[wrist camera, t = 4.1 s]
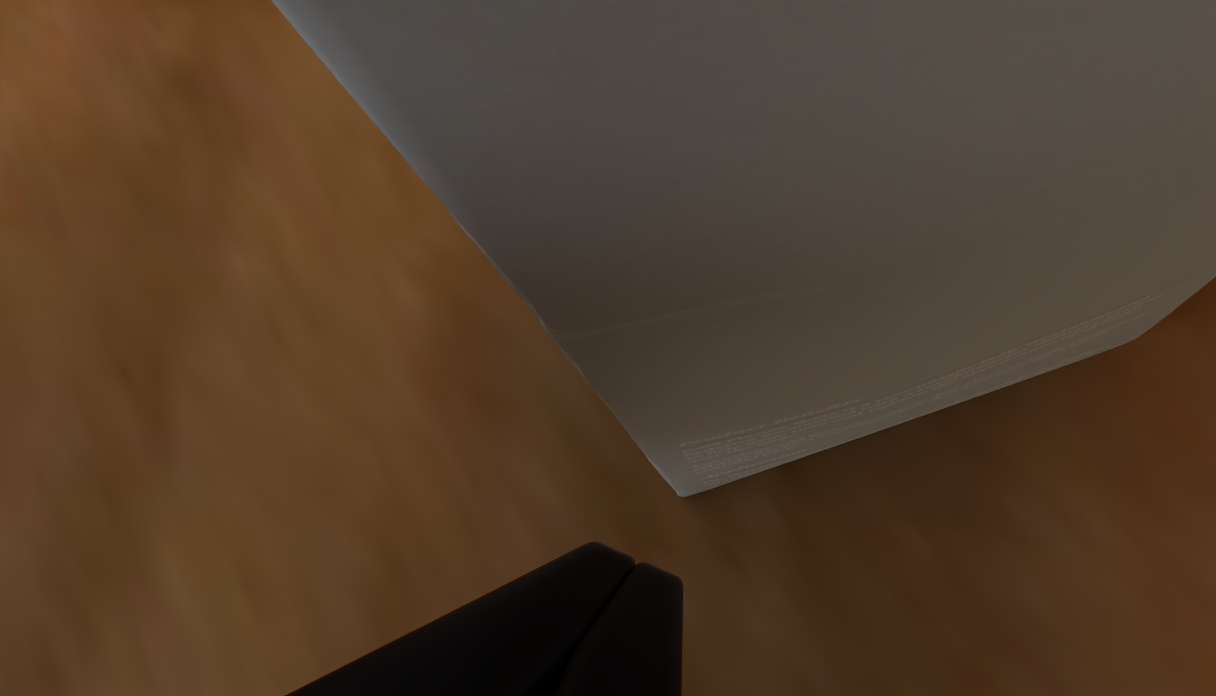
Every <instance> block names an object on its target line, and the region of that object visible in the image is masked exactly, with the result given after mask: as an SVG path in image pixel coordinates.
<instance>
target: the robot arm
mask: <svg viewBox="0 0 1216 696" xmlns="http://www.w3.org/2000/svg"><path fill="white" fill-rule="evenodd" d="M682 630H683V583H682V580H681V579H680V578H679V577H678V576H676V575H674V574H671V573H669V572H667V571H664V570H662V569H660V568H657V567H655V566H653V565H650V564H648V563H645V562H642V563H638V564H637V565H635V561H634V559H633V558H632V557H631V556H630V555H627V554H625V553H623V552H620V551H618V550H616V549H613V548H611V547H609V546H606V545H604V544H602V543H599V542H590V543H587V544H585V545H583V546H581V547H579V548H577V549H575V550H573V551H571V552H569V553H567V554H565V555H563V556H561V557H559V558H557V559H555V560H553V561H551V562H549V563H547V564H545V565H543V566H541V567H539V568H537V569H535V570H533V571H531V572H529V573H527V574H525V575H523V576H521V577H519V578H517V579H515V580H513V581H511V582H509V583H507V584H505V585H503V586H501V587H499V588H498V589H496V590H494V591H492V592H490V593H488V594H486V595H484V596H482V597H480V598H478V599H476V600H474V601H472V602H470V603H468V604H466V605H464V606H462V607H460V608H458V609H456V610H454V611H452V612H450V613H448V614H446V615H444V616H442V617H440V618H438V619H436V620H434V621H432V622H430V623H428V624H426V625H424V626H422V627H420V628H418V629H416V630H414V631H412V632H410V633H408V634H406V635H404V636H402V637H400V638H398V639H396V640H394V641H392V642H390V643H388V644H386V645H385V646H383V647H381V648H379V649H377V650H375V651H373V652H371V653H369V654H367V655H365V656H363V657H361V658H359V659H357V660H355V661H353V662H351V663H349V664H347V665H345V666H343V667H341V668H339V669H337V670H335V671H333V672H331V673H329V674H327V675H325V676H323V677H321V678H319V679H317V680H315V681H313V682H311V683H309V684H307V685H305V686H303V687H301V688H299V689H297V690H295V691H293V692H291V693H289V694H287V695H285V696H681V693H682Z"/></svg>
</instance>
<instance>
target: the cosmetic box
mask: <svg viewBox="0 0 1216 696" xmlns="http://www.w3.org/2000/svg"><path fill="white" fill-rule="evenodd" d="M271 1H272V2H273V3H274V4H275V5H276V7H277V8H278V9H279V10H280V11H281V13H282V14H283V15H284V16H285V17H286V19H287V20H288V21H289V22H290V24H291V25H292V26H293V27H294V28H295V30H296V31H297V32H298V33H299V34H300V36H301V37H302V38H303V39H304V40H305V42H306V43H307V44H308V45H309V46H310V47H311V49H312V50H313V51H314V52H315V53H316V55H317V56H318V57H319V58H320V59H321V60H322V62H323V63H324V64H325V65H326V66H327V68H328V69H329V70H330V71H331V72H332V74H333V75H334V76H335V77H336V78H337V79H338V81H339V82H340V83H341V84H342V85H343V87H344V88H345V89H346V90H347V91H348V92H349V94H350V95H351V96H352V97H353V98H354V100H355V101H356V102H357V103H358V104H359V105H360V107H361V108H362V109H363V110H364V111H365V113H366V114H367V115H368V116H369V117H370V118H371V120H372V121H373V122H374V123H375V124H376V126H377V127H378V128H379V129H380V130H381V132H382V133H383V134H384V135H385V136H386V137H387V139H388V140H389V141H390V142H391V143H392V145H393V146H394V147H395V148H396V149H397V150H398V152H399V153H400V154H401V155H402V156H403V157H404V159H405V160H406V161H407V162H408V163H409V164H410V166H411V167H412V168H413V169H414V170H415V172H416V173H417V174H418V175H419V176H420V177H421V179H422V180H423V181H424V182H425V183H426V184H427V186H428V187H429V188H430V189H431V190H432V192H433V193H434V194H435V195H436V196H437V197H438V199H439V200H440V201H441V202H442V203H443V205H444V206H445V207H446V208H447V210H448V211H449V212H450V213H451V215H452V216H453V217H454V219H455V220H456V221H457V222H458V224H459V225H460V226H461V228H462V229H463V230H464V231H465V233H466V234H467V235H468V236H469V237H470V239H471V240H472V241H473V242H474V243H475V244H476V246H477V247H478V248H479V249H480V250H481V252H482V253H483V254H484V255H485V256H486V257H487V259H488V260H489V261H490V262H491V263H492V265H493V266H494V267H495V268H496V269H497V270H498V272H499V273H500V274H501V275H502V276H503V278H504V279H505V280H506V281H507V282H508V283H509V285H510V286H511V287H512V288H513V289H514V291H515V292H516V293H517V294H518V295H519V296H520V298H521V299H522V300H523V301H524V302H525V303H526V305H527V306H528V307H529V308H530V309H531V310H532V311H533V312H534V314H535V315H536V316H537V317H538V319H539V321H540V323H541V325H542V327H543V329H544V330H545V331H546V332H547V333H548V335H549V336H550V337H551V338H552V339H553V341H554V342H555V343H556V344H557V345H558V347H559V348H560V349H561V350H562V351H563V353H564V354H565V355H566V356H567V358H568V359H569V360H570V361H571V362H572V364H573V365H574V366H575V367H576V369H577V370H578V371H579V372H580V374H581V375H582V376H583V378H584V379H585V380H586V382H587V383H588V384H589V386H590V387H591V388H592V389H593V390H594V391H595V392H596V394H597V395H598V396H599V397H600V398H601V399H602V400H603V402H604V403H605V404H606V405H607V407H608V408H609V409H610V410H611V412H612V413H613V414H614V415H615V417H616V418H617V419H618V420H619V422H620V423H621V424H622V426H623V427H624V428H625V430H626V431H627V432H628V433H629V435H630V436H631V437H632V439H633V440H634V441H635V443H636V444H637V445H638V446H639V448H640V449H641V450H642V451H643V453H644V454H645V455H646V457H647V458H648V459H649V461H650V462H651V463H652V465H653V466H654V467H655V468H656V469H657V471H658V472H659V473H660V474H661V476H662V477H663V478H664V479H665V480H666V481H667V482H668V483H669V484H670V486H671V487H672V488H673V489H674V490H675V491H676V493H677V495H678V496H681V497H686V496H690V495H693V494H696V493H700V492H703V491H706V490H709V489H712V488H715V487H718V486H721V485H724V484H727V483H730V482H733V481H735V480H738V479H741V478H744V477H747V476H750V475H753V474H756V473H759V472H762V471H765V470H767V469H770V468H773V467H776V466H779V465H782V464H785V463H788V462H791V461H794V460H797V459H800V458H803V457H805V456H808V455H811V454H814V453H817V452H820V451H823V450H826V449H829V448H831V447H834V446H837V445H840V444H843V443H846V442H849V441H852V440H855V439H857V438H860V437H863V436H866V435H869V434H872V433H875V432H878V431H880V430H883V429H886V428H889V427H892V426H895V425H898V424H901V423H904V422H906V421H909V420H912V419H915V418H918V417H921V416H924V415H927V414H929V413H932V412H935V411H938V410H941V409H944V408H947V407H949V406H952V405H955V404H958V403H961V402H964V401H967V400H970V399H972V398H975V397H978V396H981V395H984V394H987V393H990V392H993V391H995V390H998V389H1001V388H1004V387H1007V386H1010V385H1012V384H1015V383H1018V382H1021V381H1024V380H1026V379H1029V378H1032V377H1035V376H1038V375H1041V374H1043V373H1046V372H1049V371H1052V370H1055V369H1058V368H1060V367H1063V366H1066V365H1069V364H1072V363H1074V362H1077V361H1080V360H1083V359H1086V358H1089V357H1091V356H1094V355H1097V354H1100V353H1102V352H1105V351H1108V350H1110V349H1113V348H1115V347H1118V346H1121V345H1123V344H1126V343H1128V342H1130V341H1132V340H1134V339H1137V338H1139V337H1140V336H1141V335H1142V334H1143V333H1145V332H1146V331H1147V330H1149V329H1150V328H1152V327H1153V326H1154V325H1156V324H1157V323H1158V322H1160V321H1161V320H1162V319H1163V318H1165V317H1166V316H1167V315H1169V314H1170V313H1171V312H1172V311H1174V310H1175V309H1176V308H1177V307H1178V306H1179V305H1181V304H1182V303H1183V302H1185V301H1186V300H1187V299H1188V298H1190V297H1191V296H1192V295H1194V294H1195V293H1196V292H1197V291H1199V290H1200V289H1201V288H1202V287H1204V286H1205V285H1206V284H1207V283H1209V282H1210V281H1211V280H1212V279H1214V278H1215V277H1216V0H271Z"/></svg>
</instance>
